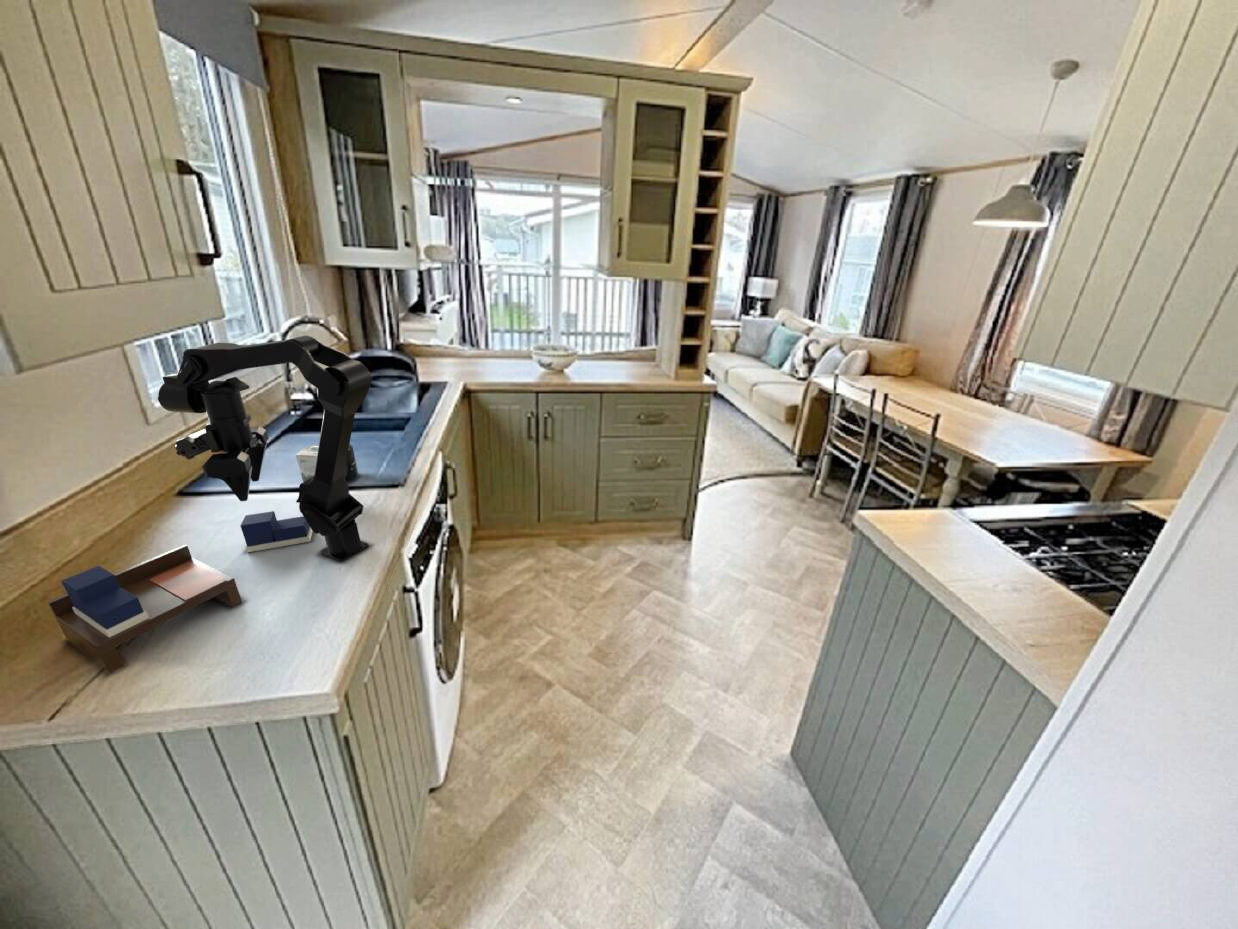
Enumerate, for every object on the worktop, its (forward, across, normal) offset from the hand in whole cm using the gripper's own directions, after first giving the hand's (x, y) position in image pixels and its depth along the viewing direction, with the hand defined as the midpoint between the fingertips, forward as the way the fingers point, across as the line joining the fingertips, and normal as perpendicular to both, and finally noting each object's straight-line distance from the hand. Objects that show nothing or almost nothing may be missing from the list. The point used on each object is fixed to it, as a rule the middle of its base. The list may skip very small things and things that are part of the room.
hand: (250, 490), depth 102 cm
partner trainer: (+7, +25, -14) cm, 30 cm away
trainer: (+12, 0, +3) cm, 12 cm away
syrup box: (+12, -12, +10) cm, 20 cm away
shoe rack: (+12, +21, -11) cm, 27 cm away
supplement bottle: (+12, -28, +12) cm, 33 cm away
